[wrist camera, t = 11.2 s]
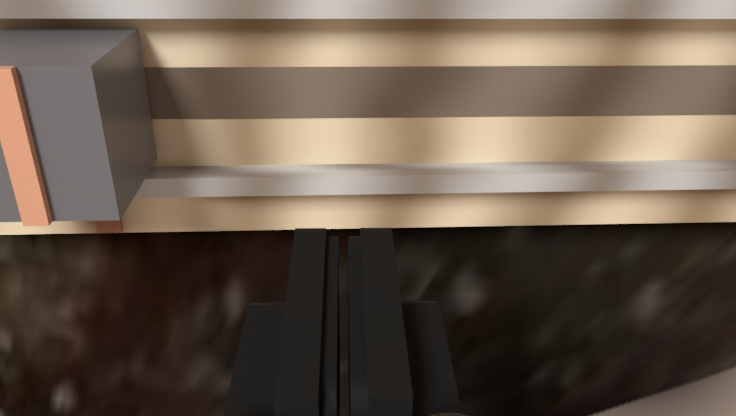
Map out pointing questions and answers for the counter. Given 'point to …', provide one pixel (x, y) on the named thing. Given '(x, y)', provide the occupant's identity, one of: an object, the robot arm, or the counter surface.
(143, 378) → the counter surface
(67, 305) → the counter surface
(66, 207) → the fader knob
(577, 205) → the fader board
